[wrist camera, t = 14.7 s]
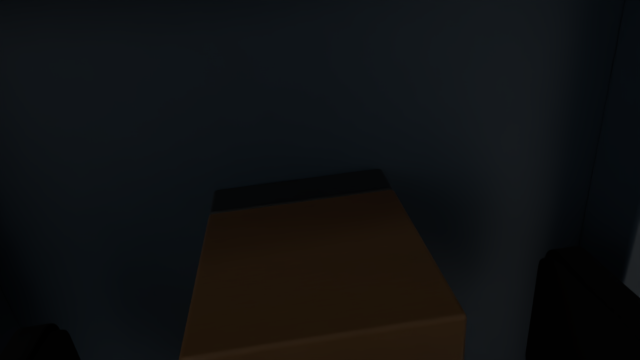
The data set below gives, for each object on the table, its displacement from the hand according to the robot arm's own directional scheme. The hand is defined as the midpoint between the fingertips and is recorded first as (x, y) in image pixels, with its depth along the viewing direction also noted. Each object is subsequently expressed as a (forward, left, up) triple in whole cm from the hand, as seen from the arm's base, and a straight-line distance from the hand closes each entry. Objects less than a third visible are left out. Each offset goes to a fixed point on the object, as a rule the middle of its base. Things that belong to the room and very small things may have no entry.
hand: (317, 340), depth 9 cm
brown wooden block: (0, 0, -2) cm, 2 cm away
